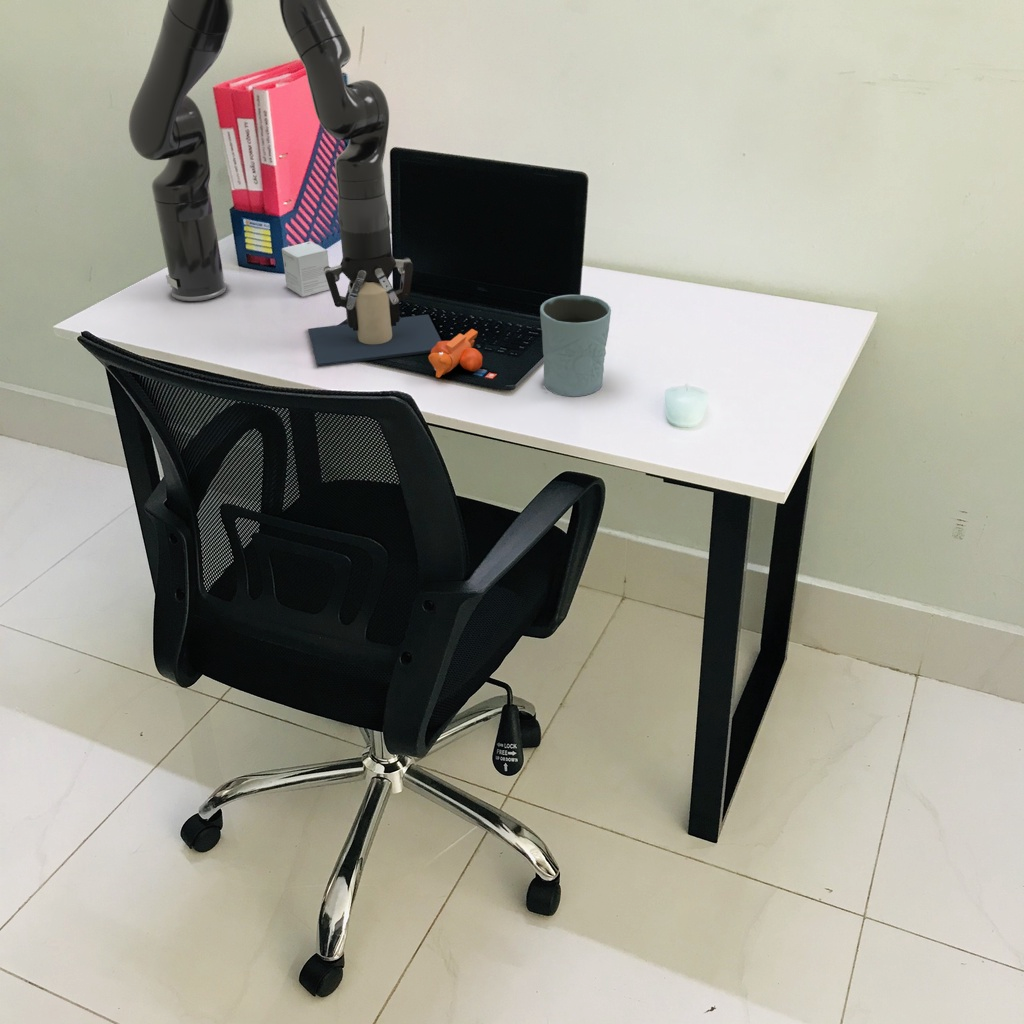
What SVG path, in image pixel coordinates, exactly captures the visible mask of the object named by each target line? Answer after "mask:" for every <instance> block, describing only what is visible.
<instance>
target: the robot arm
mask: <svg viewBox="0 0 1024 1024" xmlns="http://www.w3.org/2000/svg"><path fill="white" fill-rule="evenodd" d="M233 2H234V1H233V0H167V4H166V7H165V10H164V13H163V18H162V22H161V27H160V31H159V34H158V38H157V41H156V44H155V47H154V50H153V53H152V57H151V60H150V63H149V66H148V68H147V72H146V74H145V77H144V78H143V82H142V83H141V86H140V88H139V90H138V92H137V95H136V97H135V99H134V101H133V103H132V106H131V109H130V111H129V118H128V134H129V138H130V142H131V144H132V147H133V148H134V150H135V151H136V153H137V154H138V155H139V156H140V157H142V158H144V159H146V160H149V161H162V160H163V161H164V160H167V159H168V160H167V162H166V164H165V166H164V168H163V169H162V170H161V171H160V172H159V174H157V176H156V177H154V179H153V180H152V182H151V192H152V196H153V201H154V206H155V211H156V216H157V220H158V225H159V232H160V237H161V241H162V247H163V251H164V258H165V263H166V269H167V272H168V275H167V274H166V275H165V278H166V283H167V284H168V285H169V286H170V292H171V295H172V297H173V298H174V299H175V300H178V301H184V302H202V301H208V300H211V299H215V298H217V297H219V296H221V295H223V294H224V293H226V291H227V283H226V282H225V277H224V270H223V263H222V257H221V253H220V246H219V240H218V234H217V233H218V232H217V227H216V221H215V217H214V211H213V205H212V199H211V193H210V186H209V184H210V179H211V166H210V165H211V164H210V156H209V148H208V147H209V146H208V138H207V131H206V126H205V121H204V118H203V114H202V112H201V110H200V108H199V106H198V104H197V103H196V102H195V101H194V100H193V99H192V98H191V97H190V96H188V94H189V92H190V91H191V90H192V89H193V87H194V86H195V85H196V84H197V83H198V82H199V81H200V80H201V79H202V78H203V76H205V74H207V72H208V71H209V70H210V68H212V66H213V65H214V64H215V62H216V61H217V60H218V58H219V56H220V54H221V52H222V50H223V48H224V45H225V43H226V40H227V37H228V34H229V32H230V28H231V25H232V21H233V17H234V3H233ZM278 3H279V4H278V5H279V12H280V16H281V20H282V24H283V26H284V28H285V31H286V33H287V36H288V38H289V40H290V42H291V44H292V46H293V47H294V49H295V52H296V53H297V55H298V57H299V59H300V61H301V63H302V65H303V66H304V69H305V73H306V78H307V84H308V88H309V91H310V95H311V99H312V104H313V107H314V111H315V114H316V117H317V120H318V122H319V123H320V125H321V126H322V128H323V129H324V130H325V132H326V133H328V134H329V136H331V137H332V138H334V139H336V140H339V141H348V145H347V147H346V148H345V149H344V150H343V151H342V152H341V153H340V154H339V155H338V156H336V159H335V162H334V163H335V164H334V169H335V170H334V171H335V180H336V181H335V182H336V191H337V215H338V225H339V234H340V244H341V252H342V259H341V262H340V264H339V265H335V266H332V267H331V266H330V265H329V266H326V267H325V268H324V273H325V276H326V279H327V282H328V285H329V289H330V290H329V292H330V296H331V297H332V301H333V304H334V306H335V307H336V308H340V307H341V308H344V309H345V313H346V322H347V324H348V325H349V327H350V328H353V331H358V326H357V316H356V308H355V302H356V297H358V293H359V292H360V290H361V287H362V285H363V283H364V282H369V283H370V282H375V283H378V284H381V285H382V287H383V288H384V289H385V290H386V293H388V297H389V302H390V314H391V325H392V326H396V322H399V320H400V318H401V315H400V303H401V301H403V300H408V299H409V298H410V297H411V289H412V280H413V272H414V264H413V262H412V261H411V259H410V258H409V257H404V258H403V259H398V258H397V259H396V258H395V257H394V255H393V253H392V252H393V251H392V240H391V228H390V227H391V226H390V225H391V224H390V221H391V219H390V218H391V217H390V213H389V204H388V200H387V194H386V185H385V173H384V160H385V159H384V158H385V153H386V149H387V148H386V147H387V141H388V136H389V135H388V134H389V126H390V107H389V102H388V100H387V97H386V95H385V92H384V91H383V90H382V88H381V87H380V86H379V84H377V83H376V82H374V81H371V80H366V79H361V80H357V81H354V82H351V83H348V84H346V82H345V79H344V75H343V70H342V68H344V67H345V66H346V65H347V64H348V63H349V62H350V60H351V58H352V52H351V51H352V50H351V47H350V45H349V43H348V41H347V39H346V36H345V33H344V32H343V30H342V27H340V25H339V22H338V20H337V19H336V16H335V14H334V12H333V10H332V8H331V6H330V4H329V2H328V0H278ZM395 268H397V270H398V271H397V272H398V273H399V275H401V276H400V282H399V289H398V290H395V289H394V288H393V285H392V284H391V281H390V280H389V278H390V277H391V275H392V273H393V271H394V270H395ZM341 274H343V275H344V276H345V277H346V278H347V279H348V280H349V282H348V284H347V285H348V286H347V291H346V294H345V296H342V295H341V294H340V291H339V288H338V285H337V282H339V281H340V279H341V278H340V276H341ZM386 285H387V286H386Z"/></svg>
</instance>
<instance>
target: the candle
mask: <svg viewBox="0 0 1024 1024" xmlns="http://www.w3.org/2000/svg"><path fill="white" fill-rule="evenodd" d="M386 286H387V285H386ZM389 300H390V299H389V297H388V293H386V290H385V289H384V288H383V287H382V285H381V284H378V283H375V282H370V283H369V282H364V283H363V285H362V287H361V290H360V292H359V293H358V297H356V302H355V305H354V306H355V308H356V316H357V326H358V331H357V334H358V339H359V341H360V342H362V343H364V344H370V345H375V344H382V343H385V342H388V341H389V340H391V338H392V326H391V314H390V302H389Z"/></svg>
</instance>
